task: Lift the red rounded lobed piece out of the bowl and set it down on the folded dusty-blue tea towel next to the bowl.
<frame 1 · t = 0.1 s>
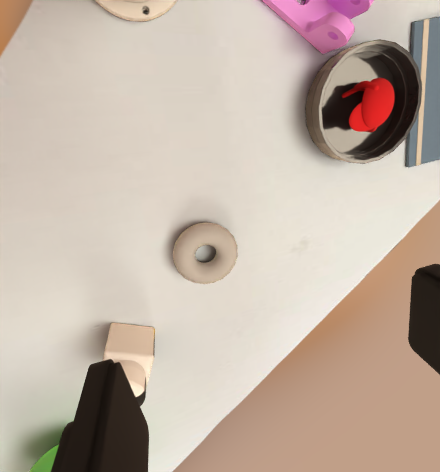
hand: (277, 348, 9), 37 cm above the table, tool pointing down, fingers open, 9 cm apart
bowl: (352, 106, 44), on the table
donut: (204, 249, 48), on the table
red rounded lobed piece: (353, 106, 44), resting in bowl
bracket: (297, 0, 38), on the table
medicine bottle: (129, 340, 52), on the table
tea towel: (435, 94, 46), on the table
toy bird: (83, 451, 59), on the table
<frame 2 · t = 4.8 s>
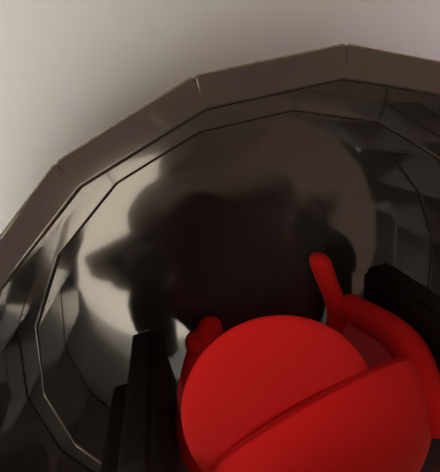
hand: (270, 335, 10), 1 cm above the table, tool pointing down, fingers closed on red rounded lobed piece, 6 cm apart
bowl: (260, 307, 11), on the table
red rounded lobed piece: (263, 311, 11), resting in bowl, touching gripper
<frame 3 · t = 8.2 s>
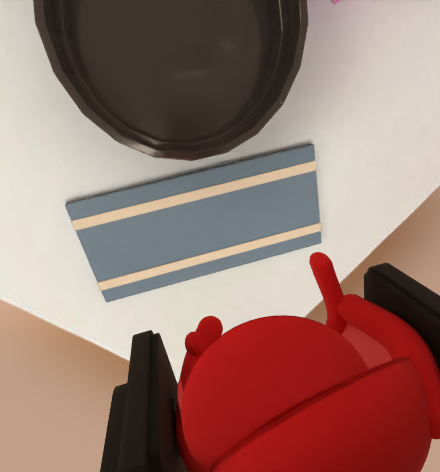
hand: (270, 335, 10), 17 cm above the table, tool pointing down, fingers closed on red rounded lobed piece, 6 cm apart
bowl: (177, 39, 21), on the table
red rounded lobed piece: (263, 311, 11), point 16 cm above the table, touching gripper
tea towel: (205, 223, 26), on the table
when the fingers open (2 cm above the table, at t = 12.1 s): red rounded lobed piece stays where it is, resting on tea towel.
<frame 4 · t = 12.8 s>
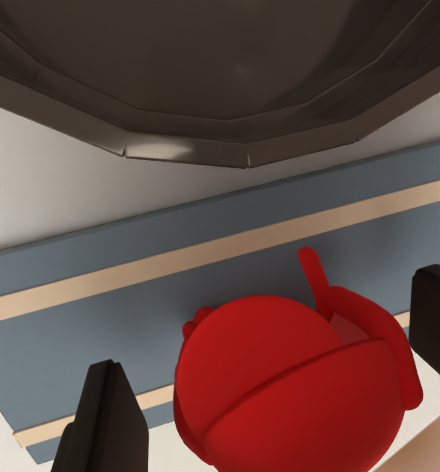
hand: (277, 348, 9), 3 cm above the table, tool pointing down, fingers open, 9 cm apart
red rounded lobed piece: (256, 303, 12), point 1 cm above the table, touching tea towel
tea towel: (248, 299, 12), on the table
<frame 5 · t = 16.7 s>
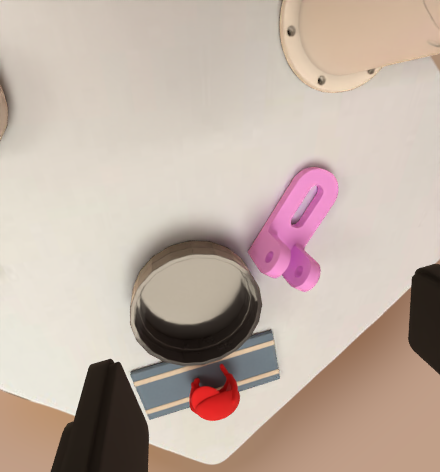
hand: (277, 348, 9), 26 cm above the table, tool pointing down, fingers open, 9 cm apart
bowl: (194, 294, 39), on the table
red rounded lobed piece: (210, 375, 43), point 1 cm above the table, touching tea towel
bracket: (292, 216, 38), on the table
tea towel: (209, 373, 44), on the table
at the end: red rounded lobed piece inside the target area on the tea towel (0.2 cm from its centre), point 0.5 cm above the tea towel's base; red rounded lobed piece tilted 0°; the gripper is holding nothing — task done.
